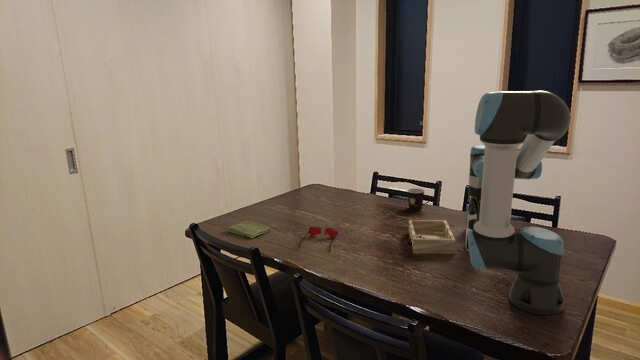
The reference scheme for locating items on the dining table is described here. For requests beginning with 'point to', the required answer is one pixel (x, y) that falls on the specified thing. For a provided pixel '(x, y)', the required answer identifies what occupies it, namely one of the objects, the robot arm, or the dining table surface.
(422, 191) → the coffee mug
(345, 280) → the dining table surface
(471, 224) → the medicine bottle
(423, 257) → the dining table surface
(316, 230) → the glasses
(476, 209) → the robot arm
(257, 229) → the washcloth
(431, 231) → the birch box
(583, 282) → the dining table surface
